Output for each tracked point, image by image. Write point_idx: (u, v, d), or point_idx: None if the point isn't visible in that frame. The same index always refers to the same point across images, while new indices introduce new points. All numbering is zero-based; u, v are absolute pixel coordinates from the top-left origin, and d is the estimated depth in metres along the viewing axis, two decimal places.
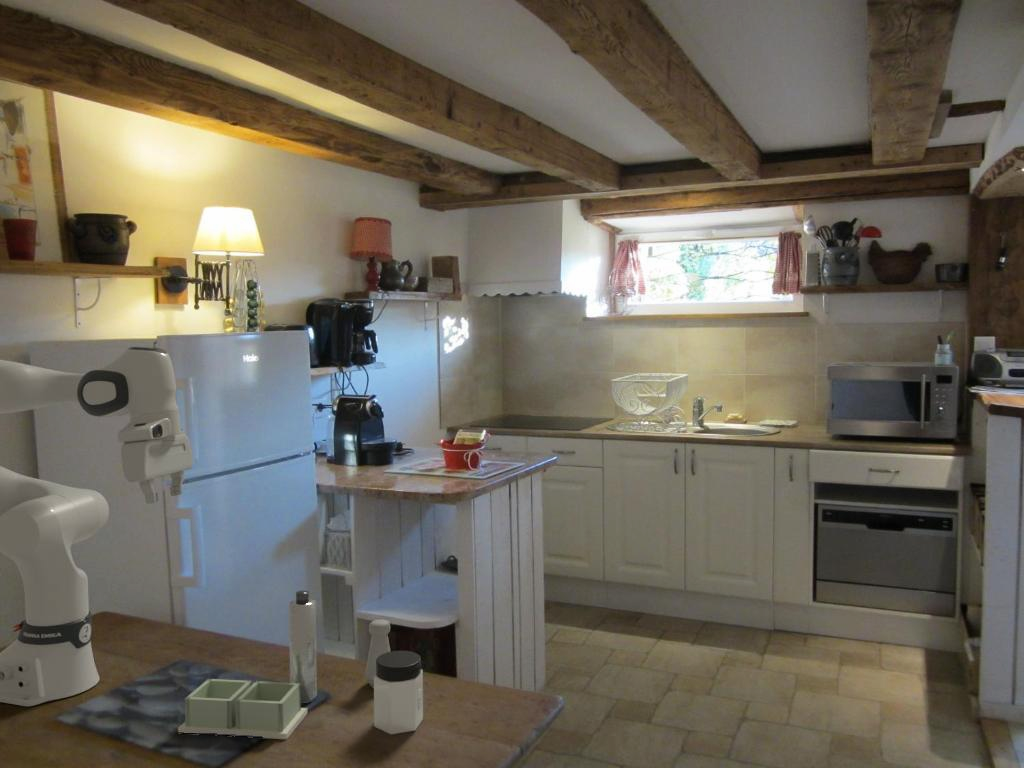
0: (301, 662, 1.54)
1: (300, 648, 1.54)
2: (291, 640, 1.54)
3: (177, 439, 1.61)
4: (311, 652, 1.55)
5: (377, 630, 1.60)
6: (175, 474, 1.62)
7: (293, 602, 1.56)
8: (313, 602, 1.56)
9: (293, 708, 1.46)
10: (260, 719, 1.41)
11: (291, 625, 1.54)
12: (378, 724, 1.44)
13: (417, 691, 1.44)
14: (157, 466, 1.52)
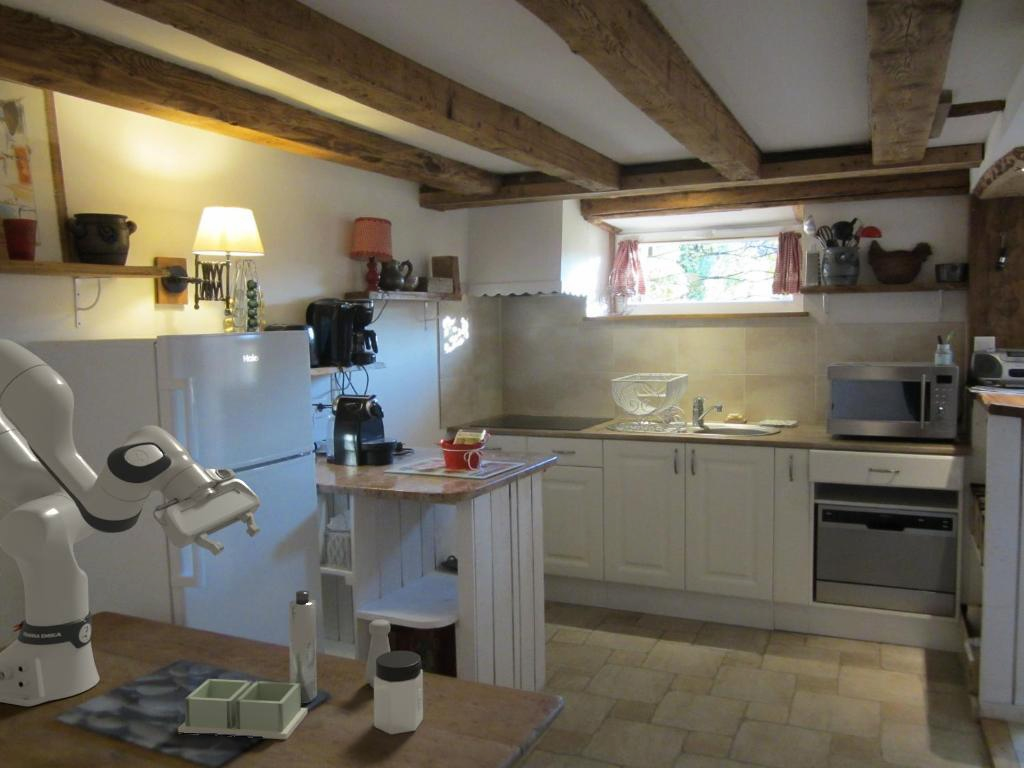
0: (301, 662, 1.54)
1: (300, 648, 1.54)
2: (291, 640, 1.54)
3: None
4: (311, 652, 1.55)
5: (377, 630, 1.60)
6: None
7: (293, 602, 1.56)
8: (313, 602, 1.56)
9: (293, 708, 1.46)
10: (260, 719, 1.41)
11: (291, 625, 1.54)
12: (378, 724, 1.44)
13: (417, 691, 1.44)
14: None
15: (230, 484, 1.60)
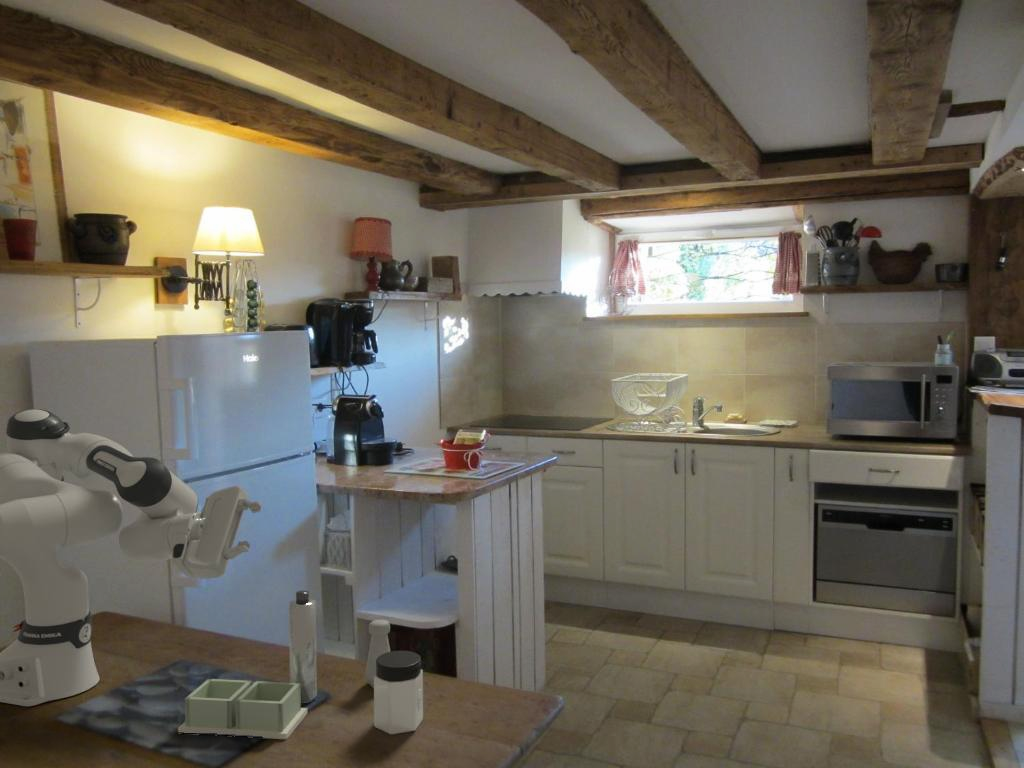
0: (301, 662, 1.54)
1: (300, 648, 1.54)
2: (291, 640, 1.54)
3: (206, 510, 1.67)
4: (311, 652, 1.55)
5: (377, 630, 1.60)
6: (241, 507, 1.67)
7: (293, 602, 1.56)
8: (313, 602, 1.56)
9: (293, 708, 1.46)
10: (260, 719, 1.41)
11: (291, 625, 1.54)
12: (378, 724, 1.44)
13: (417, 691, 1.44)
14: (212, 545, 1.60)
15: None
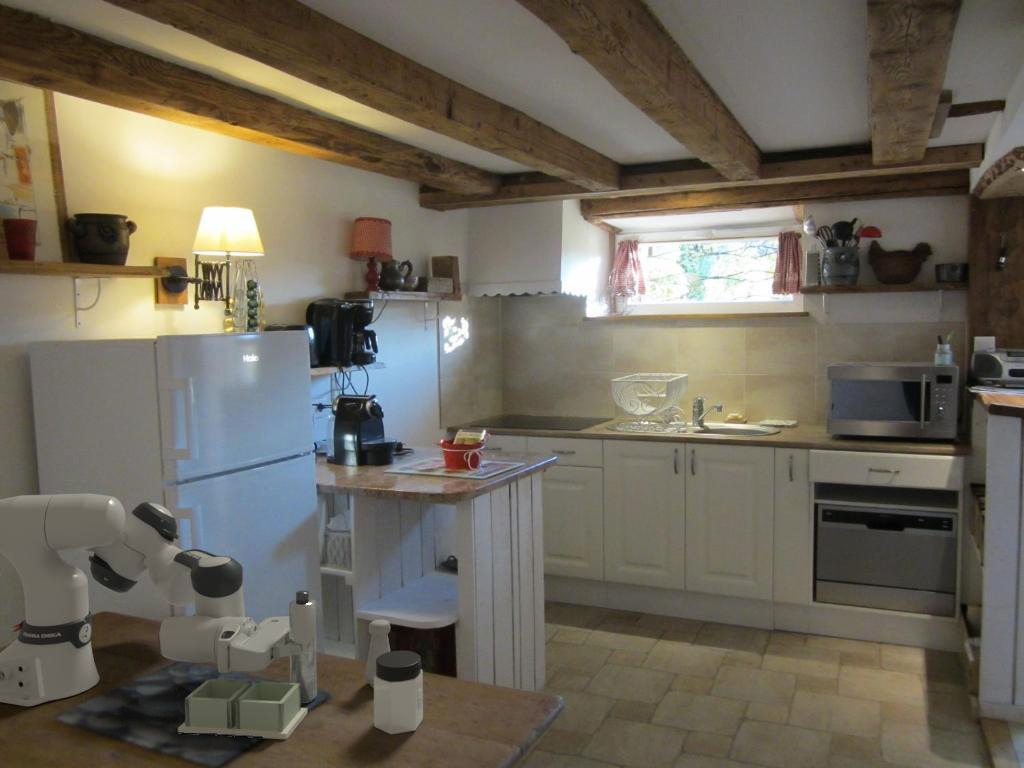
0: (301, 662, 1.54)
1: None
2: (291, 640, 1.54)
3: (261, 624, 1.61)
4: (311, 652, 1.55)
5: (377, 630, 1.60)
6: None
7: (293, 602, 1.56)
8: (313, 602, 1.56)
9: (293, 708, 1.46)
10: (260, 719, 1.41)
11: (291, 625, 1.54)
12: (378, 724, 1.44)
13: (417, 691, 1.44)
14: (263, 641, 1.52)
15: None
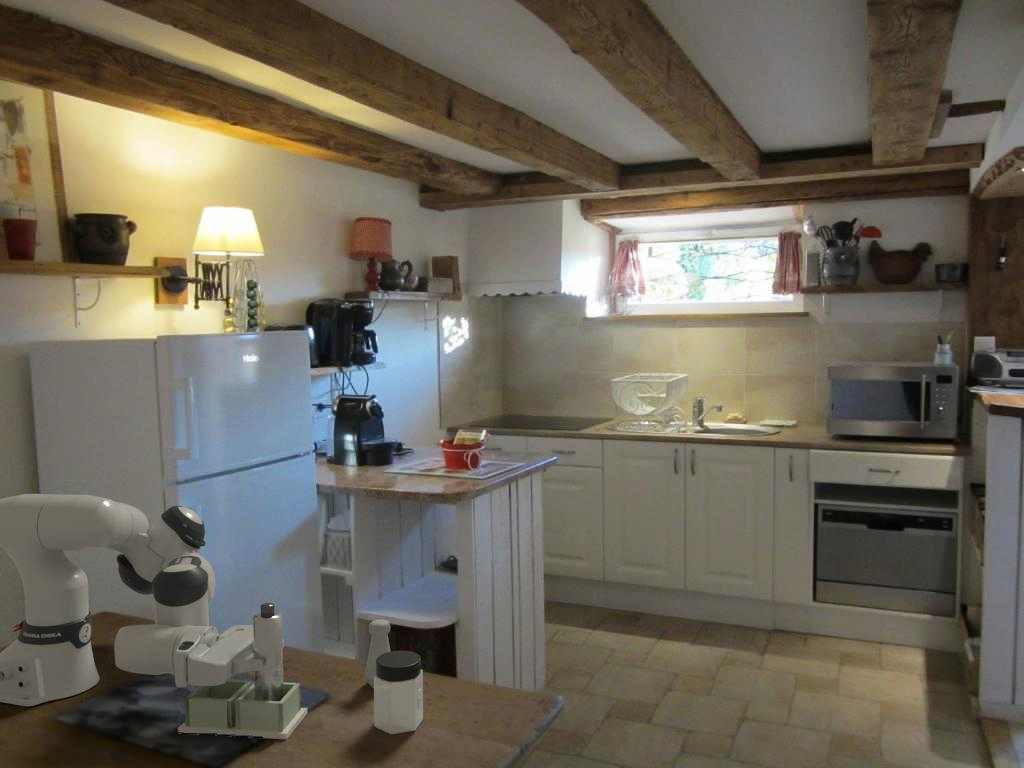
0: (266, 680, 1.43)
1: (265, 665, 1.43)
2: (255, 656, 1.44)
3: (225, 633, 1.51)
4: (277, 669, 1.44)
5: (377, 630, 1.60)
6: None
7: (258, 615, 1.45)
8: (279, 615, 1.45)
9: (293, 708, 1.46)
10: (260, 719, 1.41)
11: (255, 640, 1.43)
12: (378, 724, 1.44)
13: (417, 691, 1.44)
14: (225, 652, 1.41)
15: None
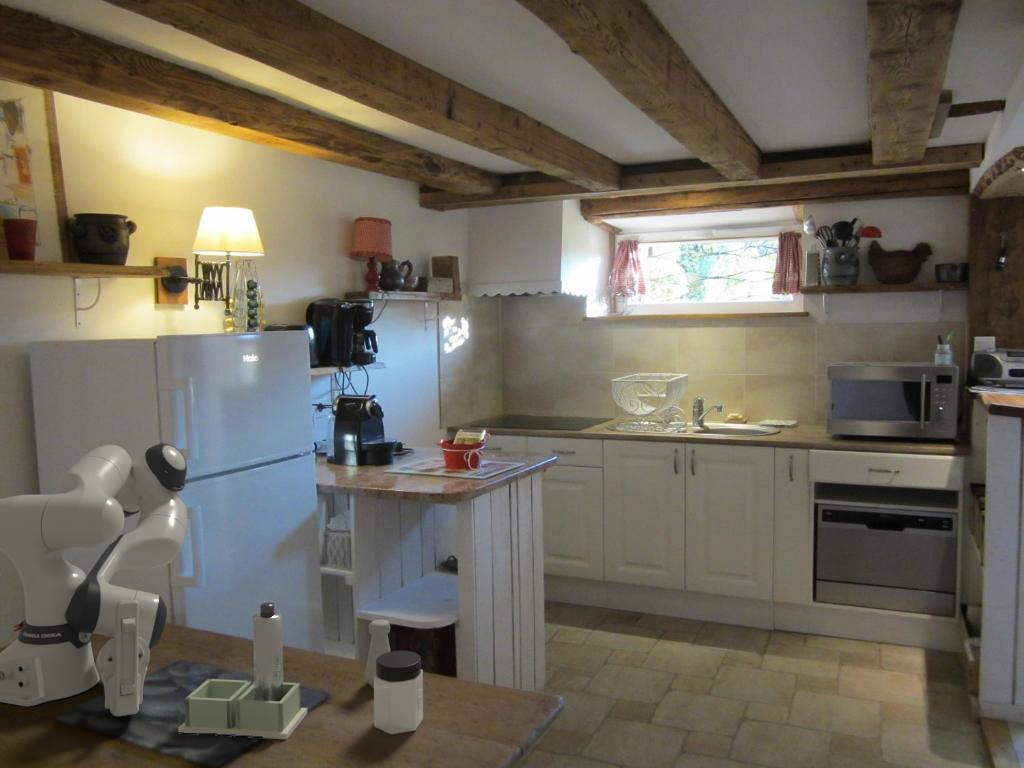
0: (266, 680, 1.43)
1: (264, 665, 1.43)
2: (255, 656, 1.44)
3: (114, 635, 1.52)
4: (276, 669, 1.44)
5: (377, 630, 1.60)
6: None
7: (257, 615, 1.45)
8: (279, 615, 1.45)
9: (293, 708, 1.46)
10: (260, 719, 1.41)
11: (255, 640, 1.43)
12: (378, 724, 1.44)
13: (417, 691, 1.44)
14: (115, 684, 1.46)
15: (139, 690, 1.51)
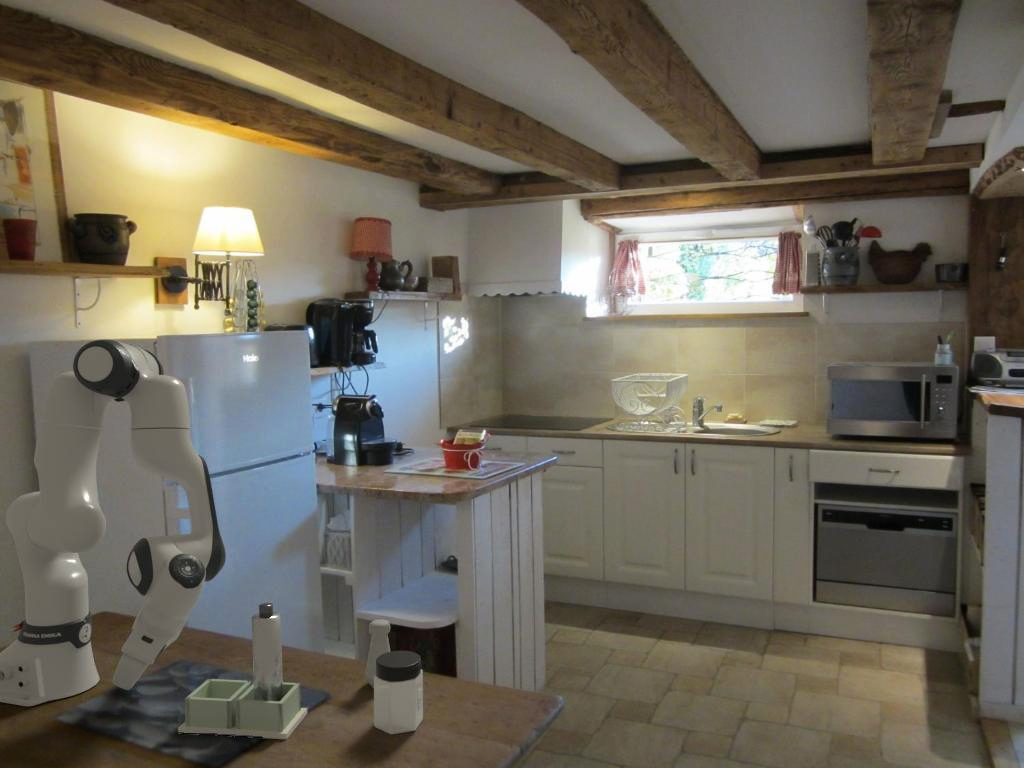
0: (265, 680, 1.43)
1: (264, 665, 1.43)
2: (254, 656, 1.43)
3: None
4: (276, 669, 1.44)
5: (377, 630, 1.60)
6: None
7: (256, 615, 1.45)
8: (278, 615, 1.45)
9: (293, 708, 1.46)
10: (260, 719, 1.41)
11: (254, 640, 1.43)
12: (378, 724, 1.44)
13: (417, 691, 1.44)
14: None
15: None
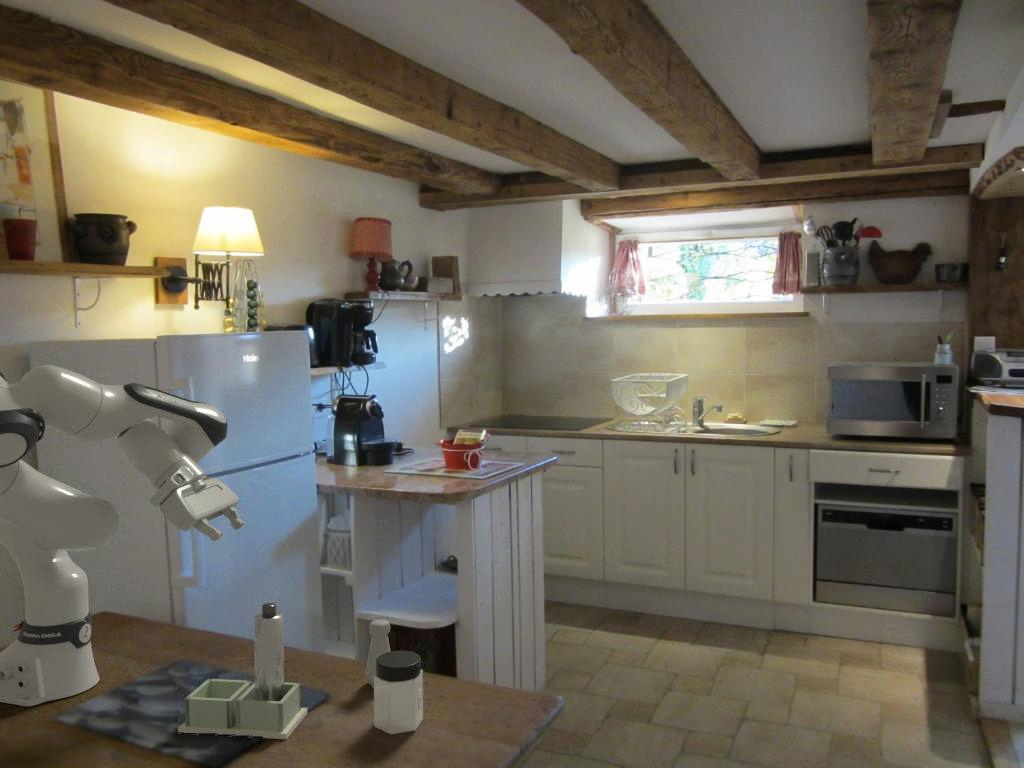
0: (266, 680, 1.43)
1: (265, 665, 1.43)
2: (256, 656, 1.43)
3: (208, 482, 1.65)
4: (277, 670, 1.44)
5: (377, 630, 1.60)
6: (227, 512, 1.66)
7: (259, 615, 1.45)
8: (280, 616, 1.45)
9: (293, 708, 1.46)
10: (260, 719, 1.41)
11: (256, 640, 1.43)
12: (378, 724, 1.44)
13: (417, 691, 1.44)
14: (201, 506, 1.56)
15: None
